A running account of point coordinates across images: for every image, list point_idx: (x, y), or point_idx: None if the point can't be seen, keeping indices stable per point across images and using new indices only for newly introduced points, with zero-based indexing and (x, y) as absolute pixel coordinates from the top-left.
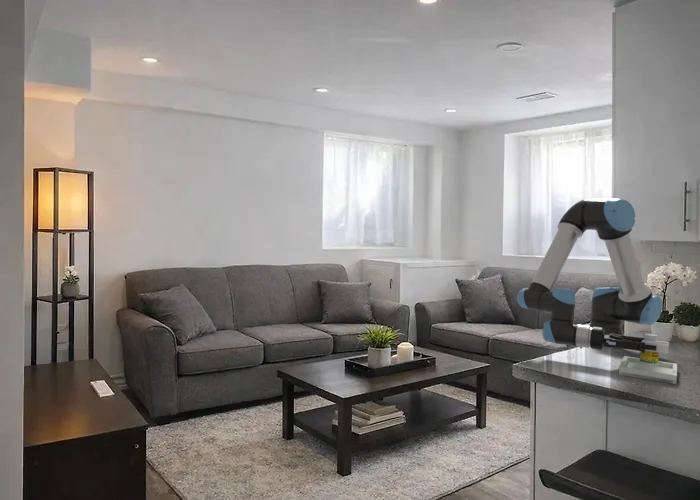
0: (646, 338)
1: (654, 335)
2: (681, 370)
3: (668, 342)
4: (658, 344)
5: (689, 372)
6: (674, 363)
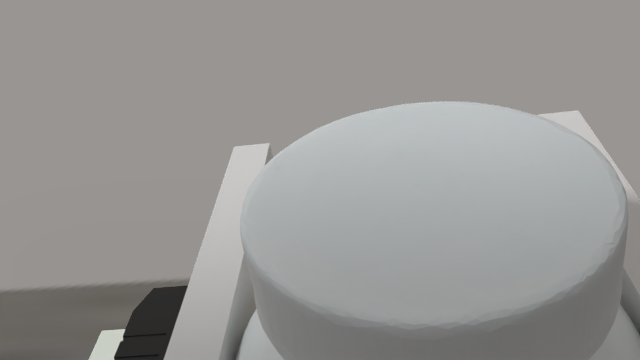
0: (600, 332)
1: (483, 127)
2: (70, 353)
3: (264, 147)
4: (636, 200)
5: (124, 306)
6: (98, 349)
